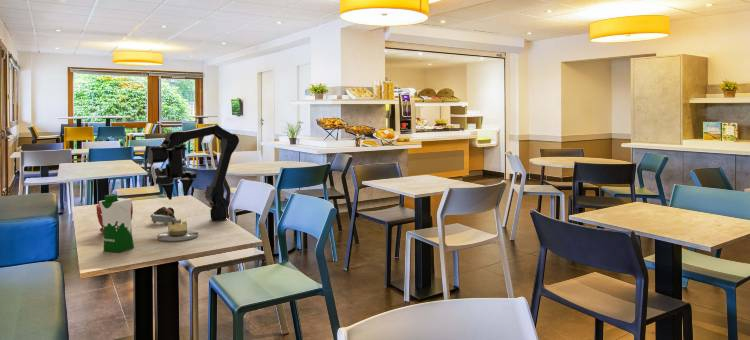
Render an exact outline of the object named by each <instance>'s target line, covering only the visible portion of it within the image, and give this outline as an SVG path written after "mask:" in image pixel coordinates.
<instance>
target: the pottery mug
mask: <svg viewBox="0 0 750 340" xmlns="http://www.w3.org/2000/svg"><path fill="white" fill-rule="evenodd" d="M155 214H156V215H165V216H172V218H176V217H175V210H174V209H173V207H170V206H169V207H166V206H162V207H160V208H158V209H157V210H155V211H154V212H153V213H151V215H150V218H151V219H152V215H155ZM152 223H153V224H156V223H157V222H155V221H152Z"/></svg>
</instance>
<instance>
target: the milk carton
mask: <svg viewBox="0 0 750 340" xmlns="http://www.w3.org/2000/svg"><path fill="white" fill-rule="evenodd" d="M98 204H100V207H101V211H102V214H101V215H102V219H103V233H102V234H103V252H110V253H117V254H118V253H119V254H120V253H123V252H125V251H128V250H131V249H134V248H135V245H134V240H133V231H132V227H133V226H132V220H131V205H132V206H133V198H123V197H120V198H119V197H118V194H114V193H113V194H111V193H110V194H106V195H104V200H99V201H98ZM131 226H132V227H131Z"/></svg>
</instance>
